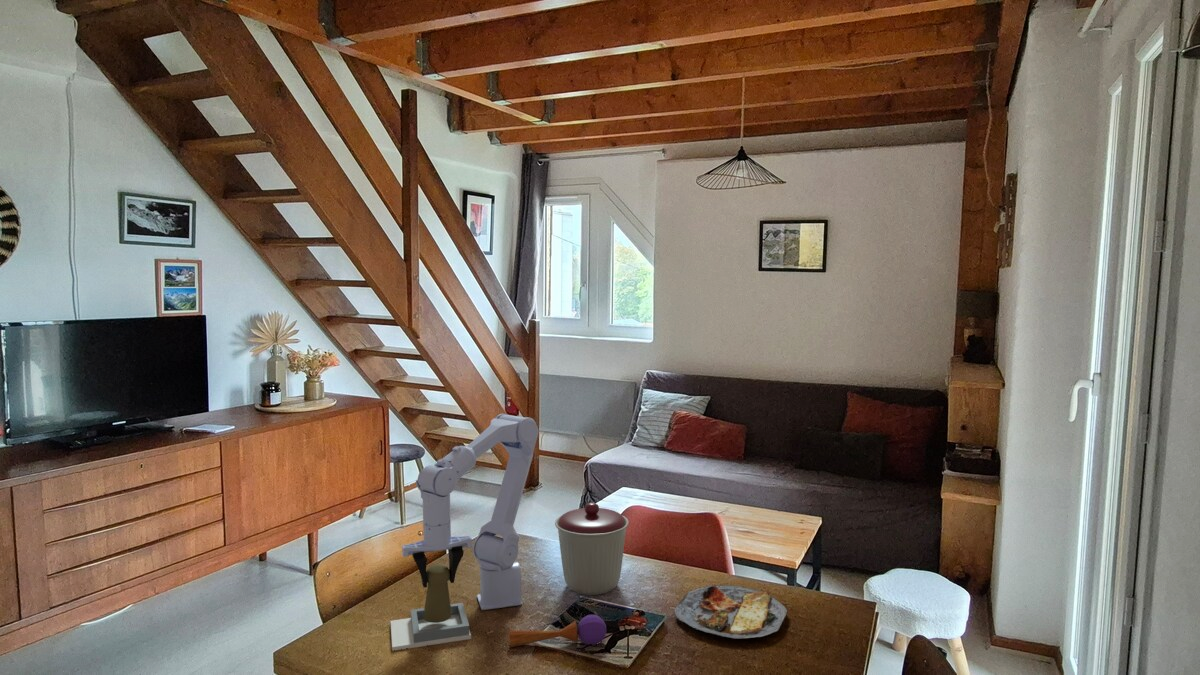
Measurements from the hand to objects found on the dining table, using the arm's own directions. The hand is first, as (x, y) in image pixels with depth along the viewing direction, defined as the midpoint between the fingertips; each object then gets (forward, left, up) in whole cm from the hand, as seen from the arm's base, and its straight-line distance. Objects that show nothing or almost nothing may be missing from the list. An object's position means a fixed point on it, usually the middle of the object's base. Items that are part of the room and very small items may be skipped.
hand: (438, 583), depth 155 cm
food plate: (-63, +14, -11) cm, 66 cm away
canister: (-38, -11, -11) cm, 41 cm away
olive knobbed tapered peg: (0, -1, -8) cm, 8 cm away
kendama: (-23, +14, -11) cm, 29 cm away
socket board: (+2, 0, -10) cm, 11 cm away
